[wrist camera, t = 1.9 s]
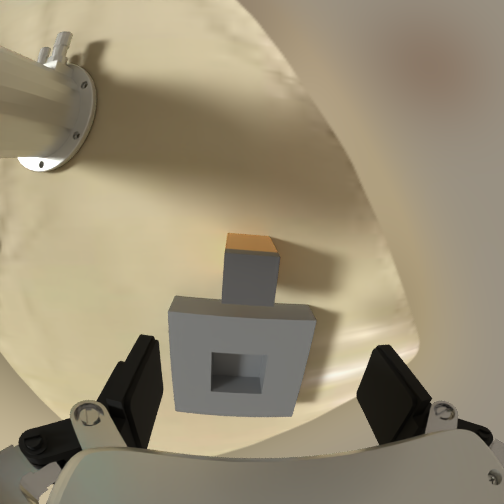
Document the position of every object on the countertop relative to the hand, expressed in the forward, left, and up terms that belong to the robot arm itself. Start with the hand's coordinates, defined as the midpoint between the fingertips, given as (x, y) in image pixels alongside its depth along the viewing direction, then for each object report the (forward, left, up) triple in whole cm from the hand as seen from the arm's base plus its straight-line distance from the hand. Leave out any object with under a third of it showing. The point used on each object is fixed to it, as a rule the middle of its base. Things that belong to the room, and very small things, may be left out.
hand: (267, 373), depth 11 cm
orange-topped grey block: (0, 0, -17) cm, 17 cm away
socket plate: (+12, 0, -17) cm, 21 cm away
